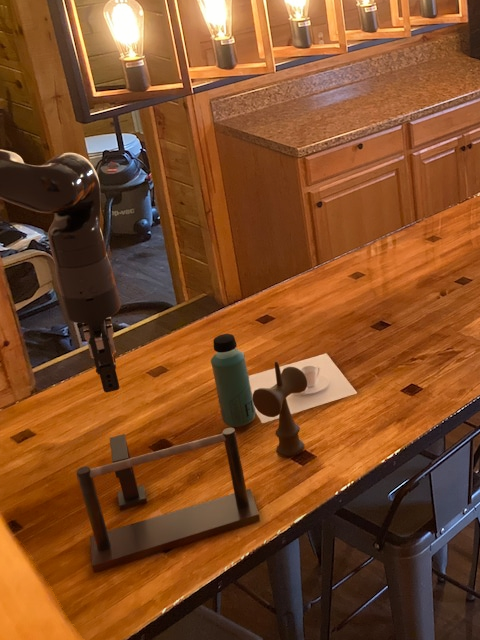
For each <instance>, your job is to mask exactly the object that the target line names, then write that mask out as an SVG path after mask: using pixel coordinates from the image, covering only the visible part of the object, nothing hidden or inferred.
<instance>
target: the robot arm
mask: <svg viewBox="0 0 480 640" xmlns="http://www.w3.org/2000/svg"><path fill="white" fill-rule="evenodd" d="M0 200H3V201H5V202H7V203H9V204H13V205H16V206H19V207H21V208H24V209H27V210H30V211H33V212H35V213H42V214H52V215H53V214H54V217H53V221H52V223H51V225H50V226H49V229H48V231H47V237H48V243H49V248H50V251H51V255H52V260H53V263H54V270H55V278H56V283H57V286H58V290H59V294H60V298H61V301H62V307H63V309H64V313H65V317H66V319H67V320H69V321H70V322H72V323H75V324H76V323H77V324H82V328H83V330H82V331H83V336H84V339H85V341H86V342H87V346H88V350H89V355H90V357H91V359H93V362H94V365H95V373H96V374H97V376H98V375H99V378H100V381H101V386H102V390H103V392H104V393H111V392H115V391H118V390H119V389H120V382H119V379H118V374H117V371H116V369H117V363H116V357H115V354H116V352H117V351H116V346H115V341H114V335H115V332H114V328H113V327H114V326H113V321H112V317H113V316H114V315H115V314H117V313H118V312H119V310H120V309H121V300H120V295H119V291H118V287H117V283H116V278H115V275H114V270H113V266H112V263H111V261H110V259H109V256H108V252H107V249H106V243H105V240H104V236H103V232H102V229H101V213H102V212H101V211H102V209H101V208H102V207H101V206H102V205H101V185H100V180H99V176H98V173H97V171H96V169H95V168H94V166H93V164H92V163H91V162H90V160H89V159H87V158H86V157H85V156H83V155H81V154H79V153H75V152H63V153H62V152H61V153H59V154H57V155H55V156H53V157H51V158H50V159H48V160H46V162H44V163H43V164H41V165H33V164H29V163H28V164H27V163H25V162H24V159H23V158H22V157H21V156H20V155H19V154H17V152H13V151H10V150H6V149H1V148H0Z"/></svg>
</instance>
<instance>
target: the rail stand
mask: <svg viewBox="0 0 480 640" xmlns="http://www.w3.org/2000/svg"><path fill="white" fill-rule="evenodd" d="M220 443H224V447H225V453H226V458H227V463H228V468H229V469H228V470H229V473H230V479H231V483H232V488H233V489H232V490H233V493H231V494H227V495H224V496H221V497H217V498H213V499H210V500H206V501H204V502H201V503H197V504H194V505H190V506H187V507H183V508H179V509H177V510H173V511H170V512H167V513H163V514H160V515H157V516H154V517H150V518H146V519H143V520H140V521H137V522H133V523H130V524H126V525H123V526H119V527H116V528H113V529H109V530H108V528H107V525H106V522H105V518H104V513H103V511H102V506H101V503H100V499H99V495H98V492H97V487H96V484H95V481H94V478H96V477H100V476H104V475H107V474H111V473H115V471H119V470H122V469H126V468H130V467H133V468H134V467H136V466H140V465H143V464H147V463H151V462H155V461H159V460H162V459H165V458H166V459H167V458H170V457H173V456H177V455H180V454H184V453H188V452H191V451H196V450H199V449H203V448H207V447H209V446H213V445H218V444H220ZM242 465H243V464H242V460H241V453H240V449H239V444H238V438H237V432H236V429H235V427H227V428H224V429H223V430H222V432H221V433H219V434H215V435H212V436H207V437H205V438H201V439H197V440H193V441H190V442H185V443H182V444H179V445H174V446H171V447H167V448H164V449H163V448H162V449H160V450H156V451H152V452H149V453H145V454H141V455H138V456H134V457H130V459H126V460H122V461H118V462H115V463H113V462H112V463H107V464H104V465H100V466H97V467H93V468H91V467H90V466H88V465H87V466H86V465H85V466H81V467H79V468H78V469H77V470H76V471H75V473H76V477H77V478H76V479H77V482H78V483H79V489H80V491H81V494H82V498H83V502H84V505H85V509H86V513H87V516H88V520H89V522H90V523H89V524H90V527H91V530H92V531H91V532H92V534H93V535H89V545H90V546H89V547H90V559H91V568H92V572H93V574H95V573H100V572H101V571H102V572H103V571H105V570H108V569H111V568H114V567H118V566H121V565H125V564H128V563H130V562H134V561H137V560H141V559H143V558H146V557H151V556H153V555H156V554H159V553H162V552H165V551H169V550H172V549H175V548H179V547H182V546H186V545H188V544H191V543H194V542H197V541H198V542H199V541H201V540H205V539H207V538H211V537H213V536H214V537H215V536H216V535H219V534H223V533H226V532H229V531H232V530H237V529H239V528H242V527H245V526H249V525H252V524H256V523H257V522H261V518H260V514H259V510H258V506H257V503H256V500H255V497H254V495H253V492H252V491H253V490H252V489H251V488H247V486H246V485H247V484H246V481H245V475H244V470H243V466H242Z"/></svg>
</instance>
